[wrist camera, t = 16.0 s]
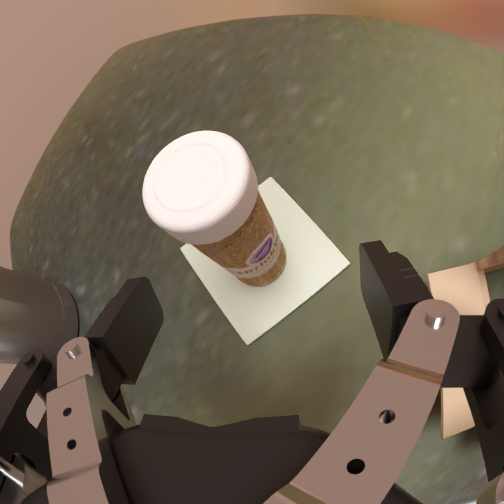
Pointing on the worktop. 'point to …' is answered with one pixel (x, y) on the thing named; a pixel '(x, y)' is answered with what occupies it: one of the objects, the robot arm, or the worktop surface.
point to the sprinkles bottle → (215, 205)
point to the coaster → (290, 280)
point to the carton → (467, 303)
